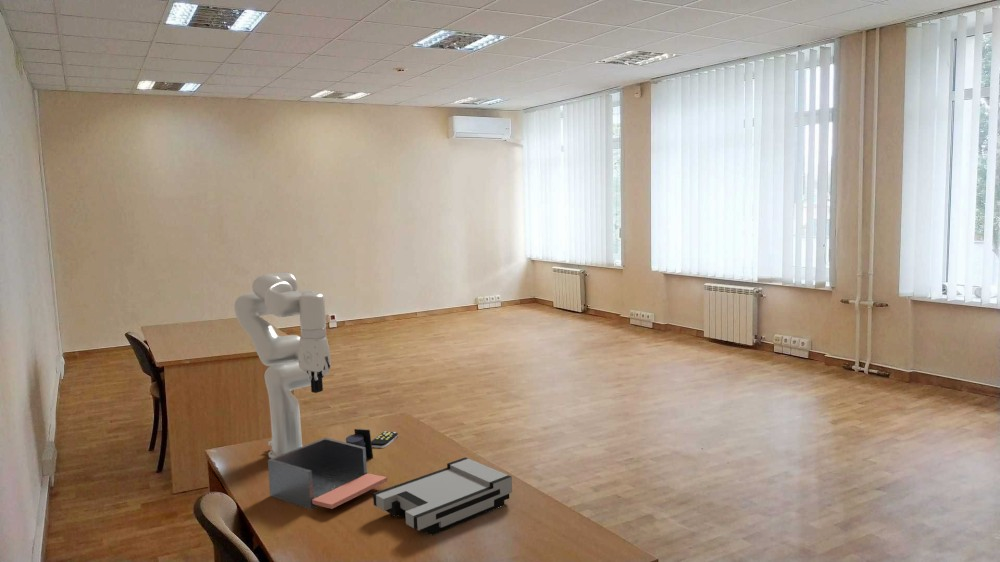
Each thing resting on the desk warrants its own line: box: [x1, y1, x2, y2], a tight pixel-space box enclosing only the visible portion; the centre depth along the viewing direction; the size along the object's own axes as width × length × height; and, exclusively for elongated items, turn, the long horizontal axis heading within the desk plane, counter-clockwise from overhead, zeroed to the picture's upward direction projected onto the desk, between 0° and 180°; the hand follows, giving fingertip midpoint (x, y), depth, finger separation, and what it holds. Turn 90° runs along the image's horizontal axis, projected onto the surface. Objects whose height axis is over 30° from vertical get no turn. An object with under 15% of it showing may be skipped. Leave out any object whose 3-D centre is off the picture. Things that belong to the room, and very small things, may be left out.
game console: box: [372, 456, 513, 536], centre depth 197 cm, size 21×32×8 cm, turn 131°
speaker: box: [345, 428, 374, 459], centre depth 235 cm, size 8×6×10 cm
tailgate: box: [312, 472, 388, 510], centre depth 206 cm, size 1×22×8 cm
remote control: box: [371, 430, 399, 449], centre depth 254 cm, size 6×13×2 cm, turn 164°
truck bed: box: [267, 437, 368, 510], centre depth 213 cm, size 18×22×11 cm
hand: (317, 391), depth 222 cm, fingers closed
